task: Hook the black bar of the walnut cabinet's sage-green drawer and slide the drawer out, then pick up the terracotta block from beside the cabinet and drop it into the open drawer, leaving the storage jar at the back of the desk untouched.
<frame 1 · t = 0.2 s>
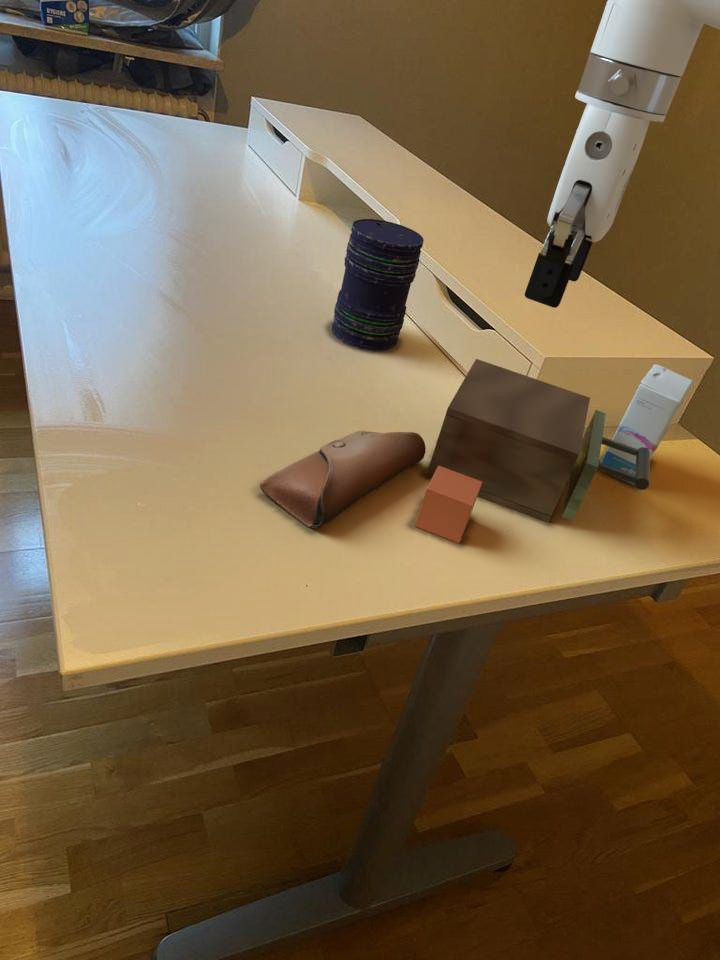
hand: (551, 288, 70), 22 cm above the table, tool pointing down, fingers open, 9 cm apart
cabinet: (498, 467, 84), on the table
ink box: (624, 466, 90), on the table
drawer: (559, 453, 80), point 4 cm above the table, slide at 1.0 cm
sunglasses case: (343, 479, 76), on the table
block: (442, 522, 73), on the table
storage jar: (364, 336, 106), on the table
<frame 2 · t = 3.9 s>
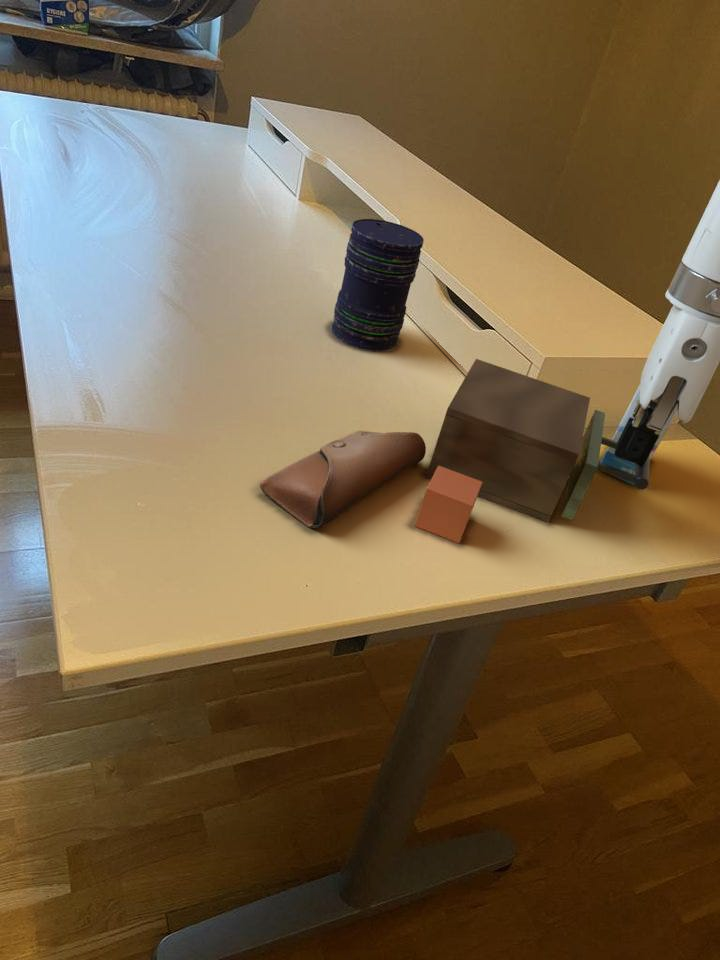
hand: (628, 457, 78), 7 cm above the table, tool pointing down, fingers closed
drawer: (559, 453, 80), point 4 cm above the table, slide at 1.0 cm, touching gripper
everything else where it was.
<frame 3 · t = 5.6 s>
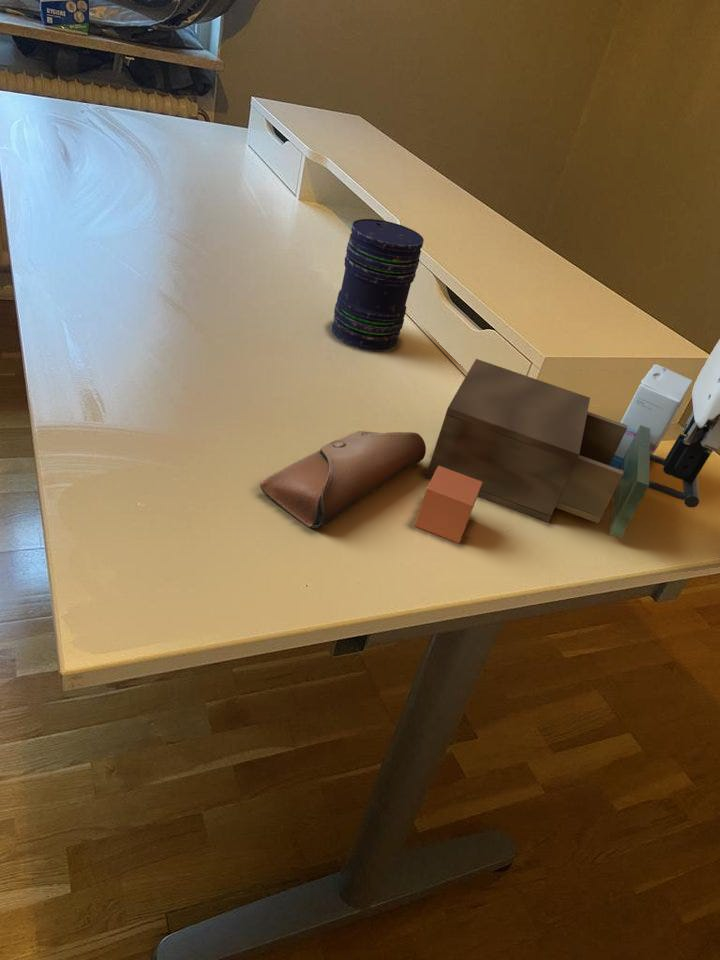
hand: (677, 474, 77), 7 cm above the table, tool pointing down, fingers closed
drawer: (605, 470, 79), point 4 cm above the table, slide at 6.1 cm, touching gripper
everything else where it was.
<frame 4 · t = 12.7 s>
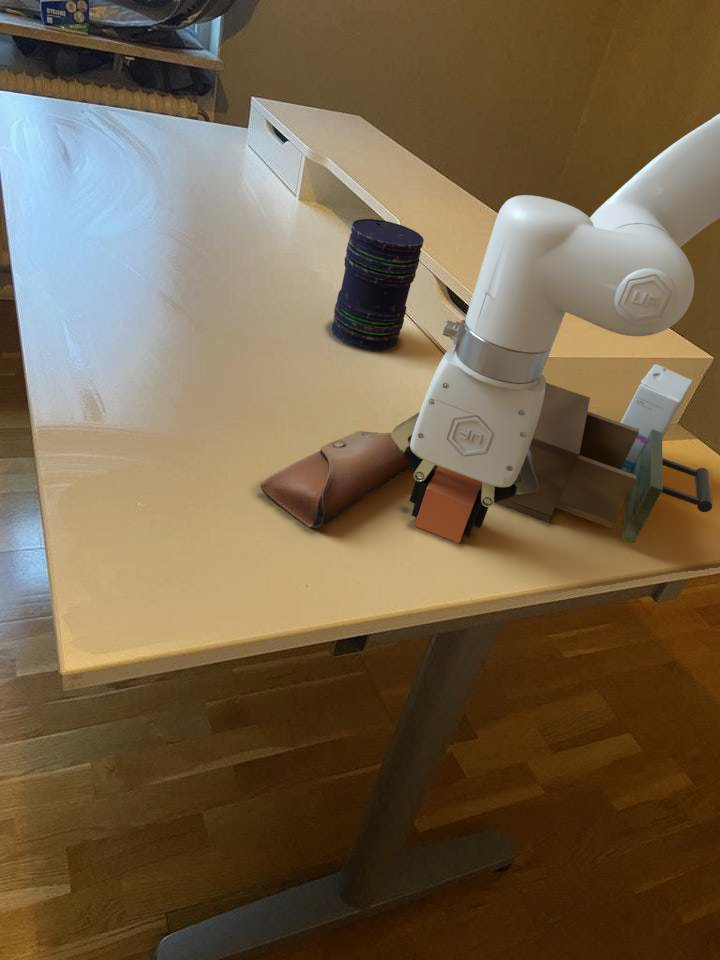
hand: (443, 517, 73), 1 cm above the table, tool pointing down, fingers closed on block, 4 cm apart
drawer: (617, 474, 79), point 4 cm above the table, slide at 7.4 cm
block: (442, 522, 73), on the table, touching gripper
everything else where it was.
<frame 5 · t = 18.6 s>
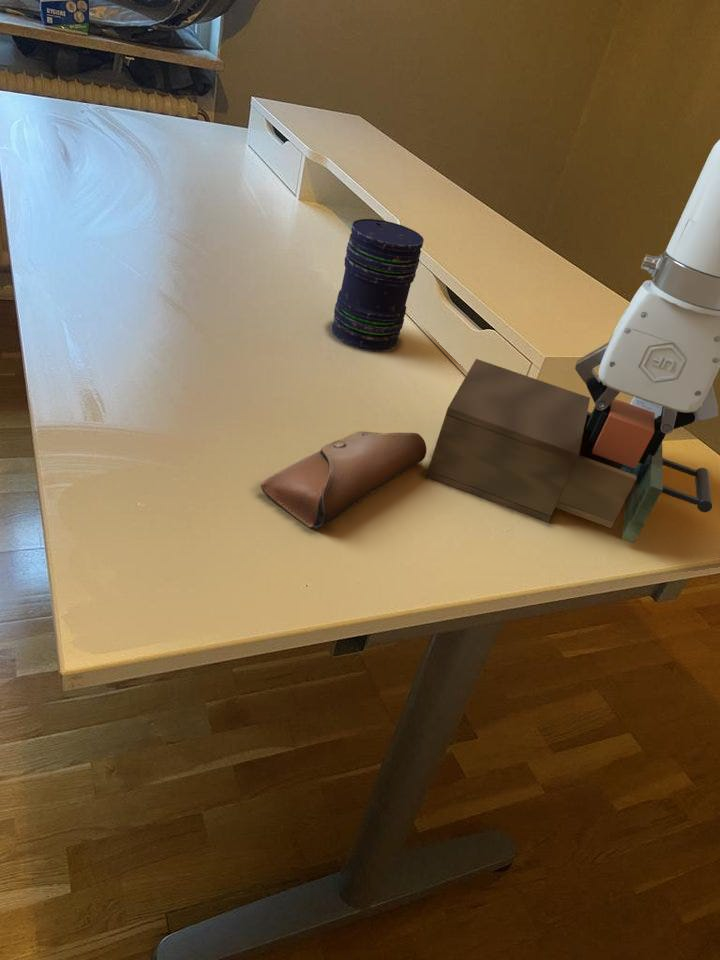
hand: (616, 446, 78), 7 cm above the table, tool pointing down, fingers closed on block, 4 cm apart
block: (614, 451, 78), point 7 cm above the table, touching gripper
everything else where it was.
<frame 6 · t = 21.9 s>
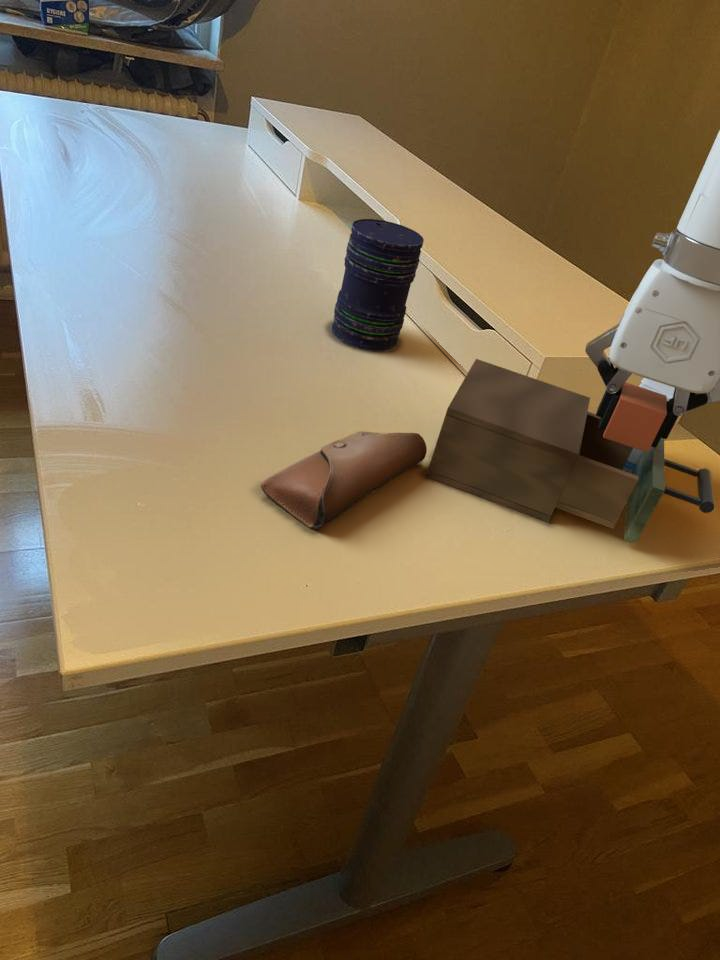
hand: (628, 430, 76), 9 cm above the table, tool pointing down, fingers closed on block, 4 cm apart
block: (625, 435, 77), point 9 cm above the table, touching gripper
everything else where it was.
when the fingers open (10 cm above the table, at t = 31.5 s): block drops 8 cm, resting on drawer.
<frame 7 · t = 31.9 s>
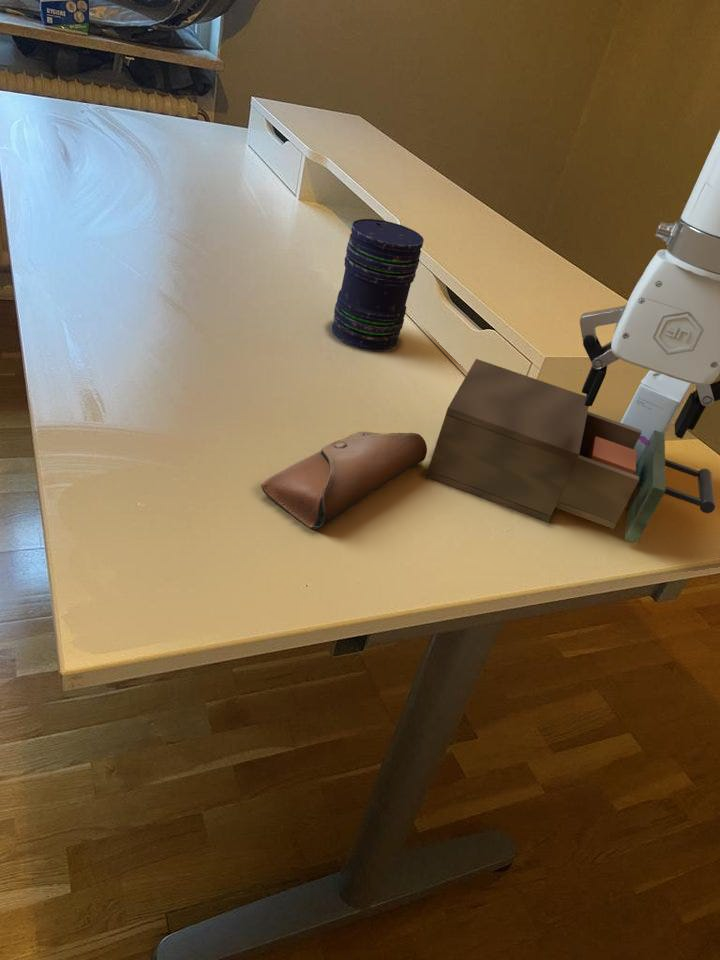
hand: (632, 416, 75), 11 cm above the table, tool pointing down, fingers open, 8 cm apart
drawer: (619, 475, 79), point 4 cm above the table, slide at 7.7 cm, touching block
block: (598, 487, 81), point 2 cm above the table, touching drawer
everything else where it was.
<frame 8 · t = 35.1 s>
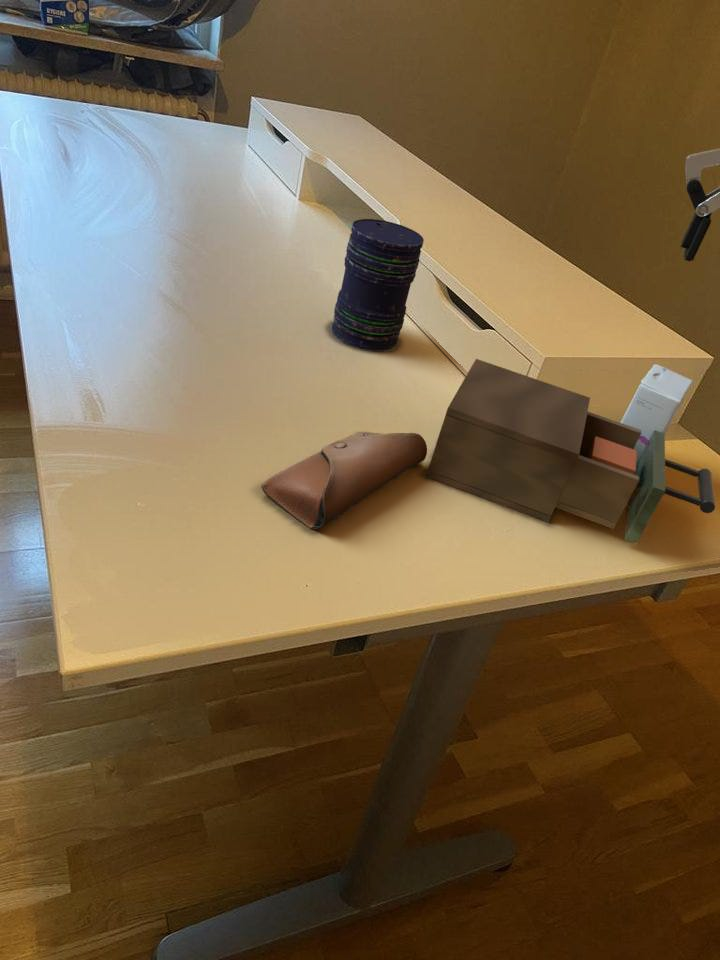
nothing on the table moved.
at the end: drawer slide at 7.7 cm; block inside the target area in the drawer (0.4 cm from its centre), point 2.0 cm above the cabinet's base; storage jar moved 0.2 cm from its start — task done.
